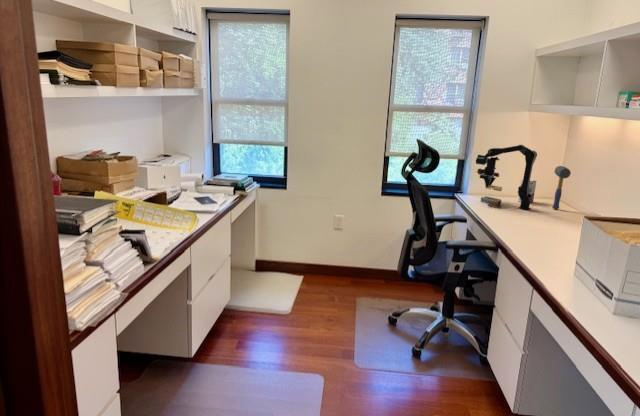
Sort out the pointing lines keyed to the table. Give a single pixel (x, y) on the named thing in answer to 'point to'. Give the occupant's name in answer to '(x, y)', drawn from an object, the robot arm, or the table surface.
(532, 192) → the candy bar box
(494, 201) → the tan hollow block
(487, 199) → the block
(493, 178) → the robot arm
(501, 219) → the table surface
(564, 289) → the table surface
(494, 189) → the brass rod
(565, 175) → the rubber mallet
